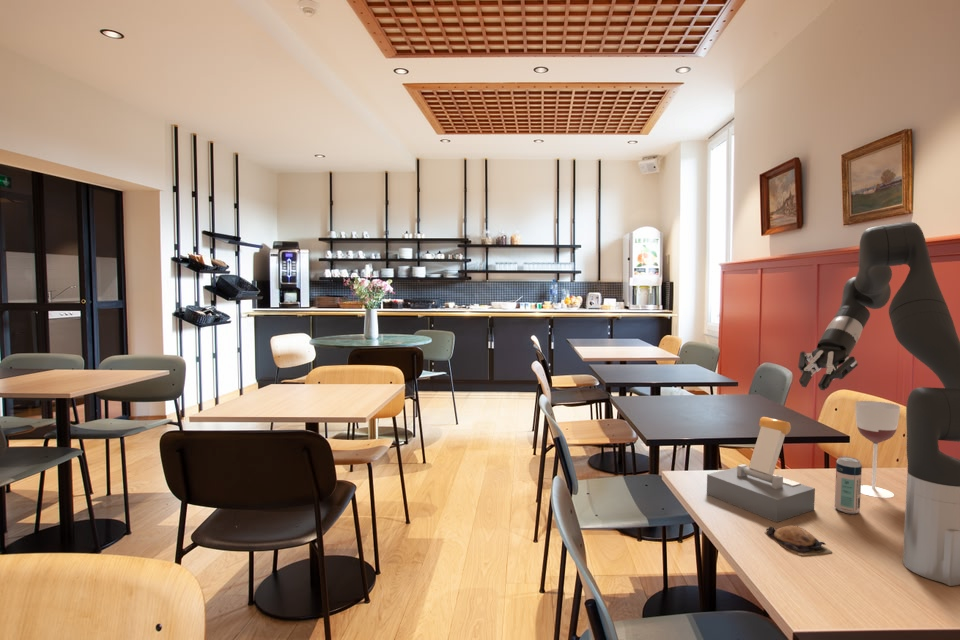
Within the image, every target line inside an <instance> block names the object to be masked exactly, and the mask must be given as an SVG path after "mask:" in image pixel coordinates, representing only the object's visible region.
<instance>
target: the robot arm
mask: <svg viewBox="0 0 960 640" xmlns="http://www.w3.org/2000/svg"><path fill="white" fill-rule="evenodd" d="M927 245H928V244H927V241H926V238H925V235H924V233H923V230H922V228H921V227H920V225H919V224H917V222H913V221H906V222H905V221H904V222H899V223H898V222H897V223H890V224H883V225H875V226H873V227H868V228H867V229H865V230H864V231H863V233H862V234H861V236H860V240H859V247H858V249H859V250H858V271H857V274H856V276H853V277H851V278H849V279H848V280H847V281H846V282H845V284H844V286H843V291H842V296H841V297H842V298H841V299H842V300H841V303H840V306H839V308H838V310H837V312H836V313H835V316H834V317H833V319H832V320H831V322H829V323H828V325H827V326H826V329H825V330H824V332H823V334H822V335H821V337H820V339H819V341H818V342H817V345H816V347H815V349H813V350H812V352H808V353H806V352H805V351H803V350H802V351H801V352H800V353H799V359H798V367H797V368H798V369H799V371H800V372H801V375H800V378H799V379H798V380H799V384H800V385H801V388H807V386H808V385H809V382H811V380H812V378H813V377H812V376H813V375H815V374H816V373H817V372H818V373H819V372H820V370H821V369H824V368H825V369H826V371H825V373H824V374H823V375H822V377H821V379H820V380H819V383H818V386H817V387H818V388H819V389H820V391H825V390H827V389H828V388H829V386H830V385H831V383H832V381H834V380H835V379H838V380H843V379H844V378H845V377H847V376H848V375H849V374H850V373H851V372H852V371H853V370H854V369H855V368H856V367H857V366H859V363H858V361H857V359H856V358H855V356H851V354H852V352H853V350H854V349H855V347H856V345H857V343H858V341H859V339H860V338H861V335H862V332H863V330H864V328H865V326H866V325H867V323H868V321H869V319H870V317H871V312H870V310H869V309H872V310H878V309H882V308H884V307H885V306H886V305H887V304H888V302H889V300H890V298H891V293H892V291H891V290H892V289H891V286H890V282H891V280H892V278H893V271H892V268H891V267H893V266H903V265H906V266H908V267H909V271H908V274H907V276H906V278H905V280H904V282H903V283H902V285H901V286H900V288H898V290H897V292H896V293H895V295H894V296H893V298H892V299H891V302H890V303H889V304H890V305H889V307H888V316H889V320H890V322H891V323H890V324H891V326H892V329H893V330H892V331H893V334H894V336H895V339H896V340H897V342H898V343H899V345H901V346H902V347H903V348H904V349H905V350H906V351H908V353H909V354H911V355H912V356H913V357H915V358H916V359H917V360H919V362H921V363H922V364H924V365H925V366H926V367H927V368H929V369H930V370H931V371H932V372H933V373H934V374H935V375H936V377H937V378H938V379H939V380H940V382H941V384H942V385H943V387H924V386H923V387H915V388H914V389H912V390H911V391H910V393H909V395H908V397H907V400H906V407H905V408H906V413H905V414H906V417H905V419H906V461H907V469H906V470H907V472H906V473H907V474H906V476H907V477H906V493H905V510H904V511H905V513H904V529H903V530H904V531H903V550H902V551H903V552H902V554H903V555H902V564H903V565H904V567H905V568H906V569H908V570H909V571H911V572H912V573H914V574H917V575H919V576H921V577H923V578H926V579H929V580H932V581H934V582H935V581H936V582H939V583H943V584H945V585H947V586H949V587H953V586H958V585H959V586H960V459H958V458H956V457H952V456H950V455H948V454H945V453H944V452H942V451H941V450H940V448H939V441H946V442H960V338H959V335H958V333H957V330H956V326H955V324H954V320H953V318H952V315H951V313H950V312H951V311H950V310H949V307H948V305H947V302H946V300H945V298H944V295H943V293H942V290H941V287H940V286H939V283H938V280H937V278H936V276H935V272H934V268H933V265H932V261H931V257H930V253H929V249H928V246H927Z"/></svg>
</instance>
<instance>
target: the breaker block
mask: <svg viewBox="0 0 960 640" xmlns="http://www.w3.org/2000/svg"><path fill="white" fill-rule="evenodd" d="M745 467H748V464H745V463H743V464H739V465H738V464H737V466H736V467H731V468H728V469H724V470H719V471H716V472H711V473H708V474H707V475H706V495H708V496H711V497H713V498H715V499H718V500H720V501H722V502H725V503H727V504H730V505H733V506H736V507H738V508H740V509H743V510H745V511H747V512H750V513H752V514H755V515H757V516H760V517H763V518H765V519H767V520H770V521H772V522H775V523H779V522H781V521H784V520H788V519H791V518H794V517H796V516H799V515H802V514H806V513H809V512H811V511H815V496H816V494H815V493H816V488H815V487H812V486H809V485H806V484H802V483H801V482H798V481H795V480H792V479H788V478H785V477H783V475H776V474H773V476H774V477H772V483H770V482H767V481H764V480H761V479H758V478H755V477H752V476H749V475H746V474H744V468H745Z"/></svg>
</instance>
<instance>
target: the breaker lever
mask: <svg viewBox="0 0 960 640" xmlns="http://www.w3.org/2000/svg"><path fill="white" fill-rule="evenodd" d="M758 424H759V428H760V429H759V433H758V436H757V439H756V442H755V445H754V448H753V452H752V455H751V459H750V461H749V464H748V466H747V467H745V468H744V474H746V475H749V476H752V477H755V478H758V479H761V480H764V481H767V482H770V483H772V477H774V476H773V475H774V473H775V469H776V466H777V463H778V460H779V457H780V453H781V450H782V446H783V444H784V442H785V437H786V435H789V433H790V432H791V428H792V425H791V423H790V422H788V421H784V420H782V419H781V420H780V419H776V418H771V417H767V416H762V417H760V419H759V422H758Z"/></svg>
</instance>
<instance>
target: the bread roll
mask: <svg viewBox="0 0 960 640" xmlns="http://www.w3.org/2000/svg"><path fill="white" fill-rule="evenodd" d="M765 530H766V532H764V534H765V535H766V536H767V537H768V538H770V540H772V541H774V542H776V543H777V544H778V545H780V546H782V547H783V548H785V549H786V550H788V551H790V552H792V553H793V554H795V555H796V556H799V557H801V558H802V557H811V556H812V557H813V556H821V555H829V554H830V555H831V554H833V551H832V550H830V549H829V548H827V547H826V546H824V545H826V543H825V542H824V541H819V540H818V539H817V538H816V537H815V536H814V535H813V534H812V533H810V532H809V531H808V530H806V529H805V528H802V527H800V526H795V525H786V526H782V527H780V528H776V529H775V527H772V526H770V527H767V528H766V529H765Z"/></svg>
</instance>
